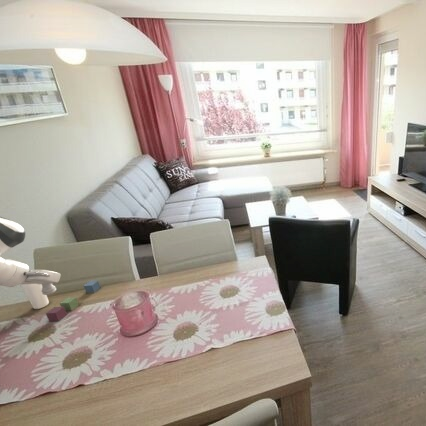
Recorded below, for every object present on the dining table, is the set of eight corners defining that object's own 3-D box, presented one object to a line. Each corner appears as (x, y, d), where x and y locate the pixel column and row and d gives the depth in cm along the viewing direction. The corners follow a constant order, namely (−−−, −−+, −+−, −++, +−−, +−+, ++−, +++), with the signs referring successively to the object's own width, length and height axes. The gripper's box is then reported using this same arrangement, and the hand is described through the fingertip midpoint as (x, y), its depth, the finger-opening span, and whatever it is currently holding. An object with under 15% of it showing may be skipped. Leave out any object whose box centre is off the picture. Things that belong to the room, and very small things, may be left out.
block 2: (71, 310, 125) (68, 302, 123) (62, 311, 125) (59, 303, 123) (79, 304, 128) (76, 297, 127) (70, 305, 129) (67, 297, 127)
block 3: (94, 292, 137) (91, 285, 136) (86, 293, 137) (83, 285, 136) (100, 287, 141) (98, 280, 139) (92, 288, 141) (89, 280, 139)
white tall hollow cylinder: (27, 310, 127) (13, 280, 122) (43, 300, 133) (30, 272, 128) (39, 311, 126) (26, 281, 121) (55, 301, 132) (43, 272, 127)
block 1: (58, 321, 119) (55, 313, 117) (49, 321, 119) (45, 313, 117) (67, 314, 122) (63, 306, 121) (57, 314, 122) (54, 307, 121)
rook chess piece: (44, 296, 114) (36, 279, 112) (40, 293, 117) (33, 276, 114) (58, 291, 118) (51, 273, 115) (55, 287, 120) (47, 270, 118)
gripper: (43, 264, 105) (74, 273, 117) (-11, 266, 106) (25, 275, 118) (36, 281, 102) (69, 289, 115) (-19, 283, 103) (19, 291, 115)
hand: (47, 282), depth 116 cm, fingers closed on rook chess piece, 3 cm apart
